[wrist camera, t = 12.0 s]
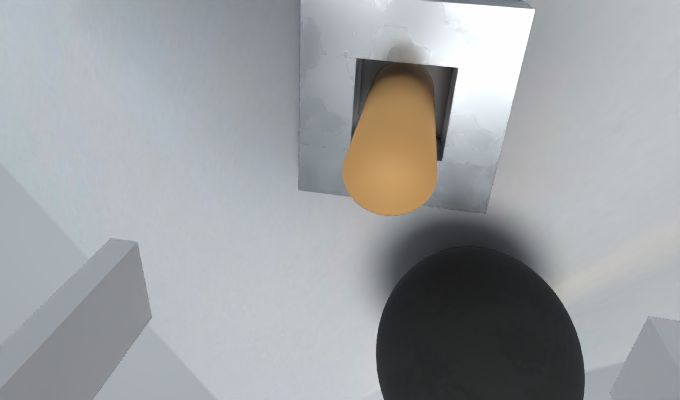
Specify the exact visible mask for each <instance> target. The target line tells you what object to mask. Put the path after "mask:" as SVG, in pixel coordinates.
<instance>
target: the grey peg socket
mask: <svg viewBox="0 0 680 400" xmlns="http://www.w3.org/2000/svg"><path fill="white" fill-rule="evenodd" d="M534 12H535V9H534V8H532V7H531V6H529V5H528V4H527V3H525V2H524V1H519V0H301V17H300V99H299V180H298V190H302V191H310V192H318V193H326V194H334V195H342V196H350V194H349V193H348V191H347V189H346V187H345V184H344V181H343V164H344V160H345V157H346V154H347V152H348V149H349V146H350V143H351V141H352V138H353V135H354V132H355V130H356V127H357V124H358V113H359V100H360V87H361V74H362V61H363V59H372V60H382V61H393V62H404V63H414V64H425V65H436V66H446V67H453V71H452V77H451V83H450V89H449V94H448V100H447V106H446V112H445V118H444V124H443V129H442V135H441V139H436V153H437V182H436V186H435V189H434V191H433V193H432V195H431V196H430V198H429V199H428V200H427V201H426V202H425V203H424V204H423V205H422V206H429V207H437V208H444V209H452V210H460V211H468V212H476V213H484V214H486V210H487V205H488V201H489V197H490V193H491V189H492V185H493V181H494V177H495V172H496V168H497V164H498V160H499V156H500V152H501V148H502V144H503V139H504V135H505V131H506V127H507V123H508V119H509V115H510V111H511V106H512V102H513V98H514V94H515V90H516V86H517V82H518V78H519V74H520V69H521V65H522V61H523V57H524V53H525V49H526V45H527V41H528V36H529V32H530V28H531V24H532V20H533V16H534ZM350 197H351V196H350Z"/></svg>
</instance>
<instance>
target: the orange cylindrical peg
mask: <svg viewBox="0 0 680 400" xmlns="http://www.w3.org/2000/svg"><path fill="white" fill-rule="evenodd" d="M343 181H344V184H345V187H346V189H347V191H348V193H349V194H350V196H351V197H352V198H353V199H354V201H355V202H357V203H358V204H359V205H360V206H362V207H363V208H365V209H366V210H368V211H371V212H373V213H376V214H380V215H386V216H397V215H403V214H406V213H409V212H412V211H414V210H416V209H417V208H419V207H420V206H422V205H423V204H424V203H425V202H426V201H427V200H428V199H429V198H430V196H431V195H432V193H433V191H434V189H435V186H436V182H437V153H436V128H435V104H434V86H433V82H432V79H431V77H430V76H429V74H428V73H427V72H426V71H425V70H424V69H423V68H422V67H421V66H419V65H417V64H414V63H404V62H394V63H391V64H389V65H387V66H385V67H384V68H383V69H382V70H380V71H379V73H378V74H377V75H376V77H375V78H374V81H373V83H372V86H371V89H370V91H369V94H368V97H367V100H366V102H365V105H364V108H363V111H362V113H361V116H360V119H359V122H358V124H357V127H356V130H355V132H354V135H353V138H352V141H351V143H350V146H349V149H348V152H347V154H346V157H345V160H344V164H343Z"/></svg>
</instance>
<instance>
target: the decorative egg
mask: <svg viewBox="0 0 680 400" xmlns="http://www.w3.org/2000/svg"><path fill="white" fill-rule="evenodd" d="M376 361H377V372H378V378H379V383H380V387H381V391H382V395H383V398H384V400H583V397H584V386H585V374H584V362H583V356H582V351H581V346H580V342H579V339H578V336H577V333H576V330H575V327H574V325H573V323H572V320H571V318H570V316H569V314H568V312H567V310H566V309H565V307H564V305H563V304H562V302H561V301H560V299H559V298H558V296H557V295H556V294H555V292H554V291H553V290H552V289H551V287H550V286H549V285H548V284H547V283H546V282H545V281H544V280H543V279H542V278H541V277H540V276H539V275H538V274H536V273H535V272H534V271H533V270H532V269H530V268H529V267H527V266H526V265H524V264H523V263H521V262H520V261H518V260H516V259H514V258H512V257H510V256H508V255H506V254H503V253H500V252H498V251H495V250H491V249H486V248H480V247H458V248H452V249H447V250H444V251H441V252H438V253H435V254H433V255H431V256H429V257H427V258H425V259H424V260H422V261H420V262H419V263H418V264H416V265H415V266H414V267H413V268H411V269H410V270H409V271H408V272H407V273H406V274H405V275H404V276H403V277H402V279H401V280H400V281H399V282H398V284H397V285H396V287H395V288H394V290H393V291H392V293H391V295H390V297H389V298H388V301H387V303H386V305H385V308H384V310H383V313H382V316H381V320H380V323H379V328H378V334H377V344H376Z"/></svg>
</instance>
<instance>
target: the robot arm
mask: <svg viewBox="0 0 680 400" xmlns="http://www.w3.org/2000/svg"><path fill="white" fill-rule="evenodd" d="M151 318H152V315H151V310H150V304H149V299H148V294H147V289H146V284H145V279H144V273H143V268H142V263H141V258H140V253H139V248H138V242H134V241H127V240H120V239H113V238H111V239H110V240H109V241H108V242H107V243H106V244H105V245H104V246H103V247H102V248H101V249H99V250H98V251H97V252H96V253H95V254H94V255H93V256H92V257H91V258H90V259H89V260H88V261H87V262H86V263H85V264H84V265H83V266H82V267H81V268H80V269H79V270H78V271H77V272H76V273H75V274H74V275H73V276H72V277H71V278H70V279H69V280H68V281H66V282H65V283H64V284H63V286H61V287H60V288H59V289H58V290H57V291H56V292H55V293H54V294H53V295H52V296H51V297H50V298H49V299H48V300H47V301H46V302H45V303H44V304H43V305H42V306H41V307H40V308H39V309H38V310H36V311H35V312H34V313H33V314H32V315H31V316H30V317H29V318H28V319H27V320H26V321H25V322H24V323H23V324H22V325H21V326H20V327H19V328H18V329H17V330H16V331H15V332H14V333H13V334H12V335H11V336H10V337H9V338H8V339H6V341H4V342H3V343H2V344H1V345H0V400H93V399H94V397H95V396H96V395H97V393H98V392H99V390H100V389H101V388H102V386H103V385H104V383H105V382H106V381H107V379H108V378H109V377H110V375H111V374H112V372H113V371H114V370H115V368H116V367H117V365H118V364H119V363H120V361H121V360H122V358H123V357H124V356H125V354H126V353H127V351H128V350H129V348H130V347H131V346H132V344H133V343H134V342H135V340H136V339H137V337H138V336H139V335H140V333H141V332H142V330H143V329H144V327H145V326H146V325H147V323H148V322H149V321H150V319H151ZM610 394H611V396H612V399H613V400H680V321H677V320H670V319H664V318H657V317H650V316H648V318H647V320H646V322H645V324H644V326H643V328H642V330H641V332H640V334H639V336H638V338H637V340H636V342H635V344H634V346H633V348H632V350H631V352H630V354H629V356H628V358H627V360H626V362H625V363H624V366H623V367H622V369H621V371H620V374H619V375H618V377H617V379H616V381H615V383H614V385H613V387H612V389H611V391H610Z"/></svg>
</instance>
